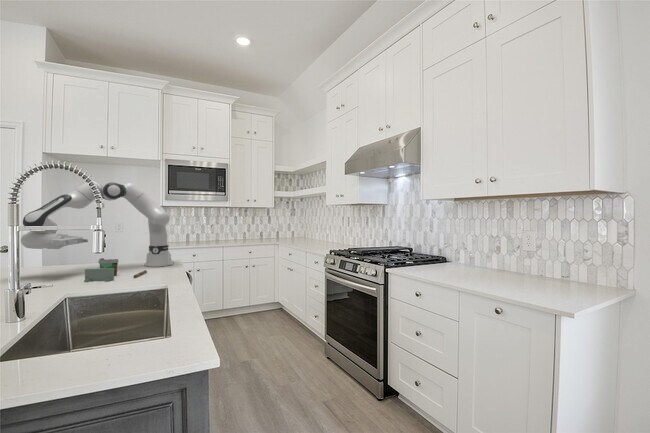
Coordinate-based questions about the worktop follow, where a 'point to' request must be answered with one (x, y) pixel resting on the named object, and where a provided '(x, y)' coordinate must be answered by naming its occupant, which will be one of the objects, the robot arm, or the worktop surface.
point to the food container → (109, 264)
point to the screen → (99, 275)
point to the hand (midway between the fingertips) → (82, 241)
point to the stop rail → (140, 273)
